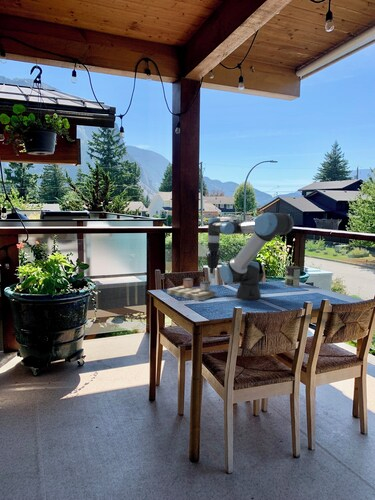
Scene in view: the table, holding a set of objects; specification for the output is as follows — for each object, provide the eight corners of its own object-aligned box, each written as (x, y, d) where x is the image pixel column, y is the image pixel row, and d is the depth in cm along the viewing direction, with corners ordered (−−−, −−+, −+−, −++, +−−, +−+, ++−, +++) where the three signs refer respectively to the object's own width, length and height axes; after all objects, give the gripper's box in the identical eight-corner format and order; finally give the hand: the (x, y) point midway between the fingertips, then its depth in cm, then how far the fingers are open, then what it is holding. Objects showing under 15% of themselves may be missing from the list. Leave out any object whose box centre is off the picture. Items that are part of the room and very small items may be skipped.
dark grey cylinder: (255, 289, 251) (256, 262, 249) (230, 285, 263) (231, 259, 261) (267, 285, 267) (269, 259, 265) (243, 281, 279) (244, 257, 277)
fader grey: (210, 289, 233) (210, 281, 232) (205, 291, 228) (205, 283, 228) (204, 288, 235) (205, 280, 235) (199, 290, 231) (199, 282, 231)
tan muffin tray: (215, 296, 231) (215, 290, 230) (198, 300, 218) (198, 295, 217) (183, 289, 247) (184, 284, 247) (166, 293, 234) (166, 288, 234)
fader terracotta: (193, 286, 241) (193, 278, 241) (187, 287, 237) (188, 279, 237) (188, 285, 244) (188, 277, 244) (182, 286, 240) (183, 279, 240)
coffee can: (285, 286, 263) (286, 267, 262) (283, 284, 273) (284, 265, 272) (300, 287, 262) (301, 268, 260) (298, 284, 272) (299, 265, 270)
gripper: (214, 240, 242) (213, 275, 245) (202, 242, 232) (201, 278, 235) (224, 241, 237) (222, 277, 240) (212, 243, 227) (211, 280, 230)
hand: (212, 278), depth 238 cm, fingers closed
